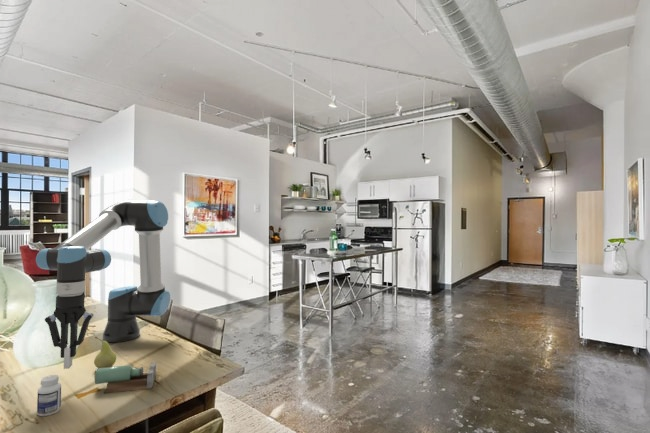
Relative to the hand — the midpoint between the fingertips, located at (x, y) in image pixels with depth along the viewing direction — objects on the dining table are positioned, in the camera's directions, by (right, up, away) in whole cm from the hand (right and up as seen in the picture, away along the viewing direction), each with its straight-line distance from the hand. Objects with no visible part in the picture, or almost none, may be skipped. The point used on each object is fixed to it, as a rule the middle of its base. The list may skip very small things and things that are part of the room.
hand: (67, 366), depth 112 cm
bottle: (+8, -4, +3) cm, 9 cm away
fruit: (+1, -8, +17) cm, 19 cm away
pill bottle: (+3, -8, -12) cm, 15 cm away
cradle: (+17, -9, +6) cm, 20 cm away
